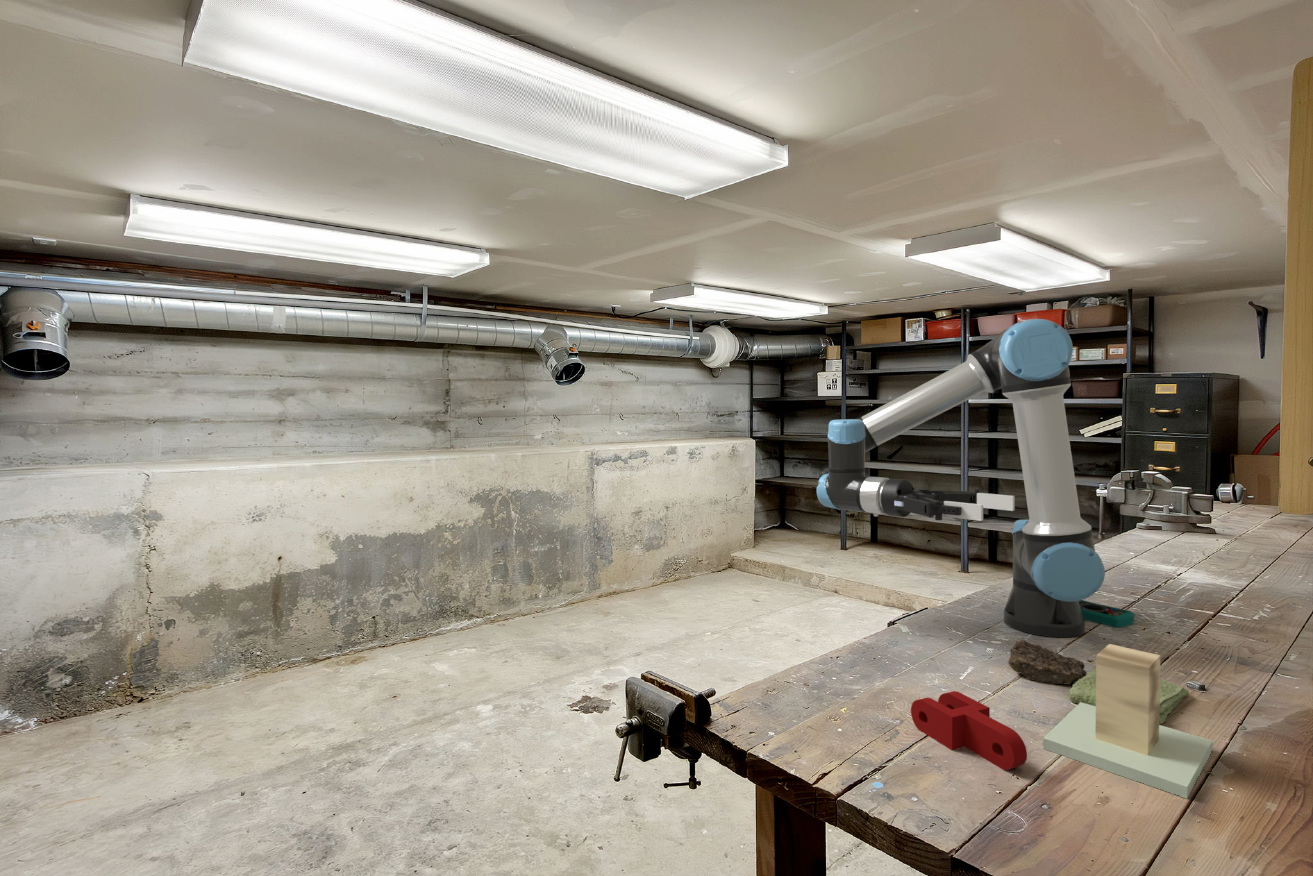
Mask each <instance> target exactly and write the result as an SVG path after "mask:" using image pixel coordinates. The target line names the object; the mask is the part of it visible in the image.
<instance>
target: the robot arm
mask: <svg viewBox="0 0 1313 876" xmlns="http://www.w3.org/2000/svg"><path fill="white" fill-rule="evenodd" d="M1073 348H1074V347H1073V341H1072V339H1071V336H1070V334H1069V333H1068V332H1067V330H1066V328H1065V329H1064V327H1062V326H1061V325H1060V324H1058V323H1057V322H1054V321H1052V320H1049V319H1045V318H1044V319H1043V318H1032V319H1025V320H1021V321H1018V322H1017V323H1015V324H1013V325H1011V326H1010V327H1008V328H1007V329H1005V330H1003V331H1002V332H1000V333H999V334H997V336H995V337H994V338H993V339H992V340H991V341H989V342H987V343H986V344H985V345H983V346H982V347H980V348H979V349H977V350H975V351H973V352H971V353H969V354H968V355H967V357H966V361H964V362H962V363H961V364H959V365H957V366H955V367H952V368H951V369H948V370H947V371H945V372H943V373H942V374H940V375H937V376H936V377H934V378H933V379H930V380H929V381H926V382H925V383H923V384H921V385H918V386H917V387H915V388H913V389H911V390H910V391H908V392H906V393H904V394H902V395H900V396H899V397H898V396H897V397H896V398H894V399H893V400H891V401H889V402H887V403H885V404H884V405H882V406H879V407H878V408H875V409H874V410H872V411H871V412H869V413H866V414H865V415H862V416H861V417H860V418H855V419H853V418H852V419H851V418H850V419H846V418H845V419H832V420H830V421H829V423H828V430H827V431H828V432H827V440H828V441H827V445H828V449H827V450H828V472H827V473H824V474H822V475H821V476H820V478H819V479H818V482H817V483H818V485H817V486H816V496H817V499H818V501H819V503H820V504H821V505H822V506H824V507H827V508H831V509H836V510H838V511H849V512H850V511H851V512H857V513H859V512H860V513H867V514H868V513H869V514H871V513H872V514H873V515H872V516H874V517H878V516H879V515H887V516H890V517H898V518H905V517H908V516H909V515H910V514H916V515H919V516H922V517H923V516H924V517H928V518H934V520H936V521H943V517H945V518H954V519H963V520H968V521H969V520H972V521H979V522H982V521H984V509H993V510H1000V511H1010V512H1013V511H1016V510H1015V508H1016V507H1015V505H1016V504H1015V502H1016V500H1015V495H1008V494H1007V495H1006V494H996V493H985V492H984V493H983V492H981V490H980V488H975V489H974V490H941V489H930V488H928V489H926V488H919V489H918V490H916V489H915V488H914V485H913V483H912V482H911V481H909V480H908V479H904V478H903V479H902V478H901V479H900V478H889V477H880V476H866V453H867V452H869V451H870V450H872V449H874V448H876V447H878V446H880V445H883V443H886V442H887V441H890V440H891V439H894V438H895V437H898V436H899V435H902V434H903V433H905V432H907V431H909V430H911V429H913V428H915V427H917V426H920V425H922V424H923V423H925V422H927V421H929V420H931V419H933V418H935V417H937V416H939V415H941V414H944V413H945V412H946V411H948V410H951V409H953V408H954V407H957V406H959V405H960V404H962V403H965V402H966V401H968V400H971V399H973V398H974V397H976V396H978V395H980V394H982V393H989V394H990V393H991V394H992V393H995V392H996V391H998V390H1000V389H1001V393H1002V395H1003V396H1004V397H1005V398H1007V399H1009V400H1010V401H1011V402H1012V408H1013V416H1014V421H1015V429H1016V434H1017V435H1016V436H1017V443H1018V449H1019V455H1020V457H1019V458H1020V464H1021V470H1022V477H1023V478H1022V479H1023V483H1024V490H1025V498H1026V499H1025V500H1026V505H1027V512H1028V517H1029V518H1028V519H1018V520H1017V519H1016V521H1014V523H1013V528H1012V531H1011V536H1012V589H1011V591H1010V593H1009V596H1008V598H1007V601H1006V604H1005V606H1004V609H1003V622H1004V623H1005V624H1006V625H1007V626H1009V627H1010V628H1013V629H1015V630H1016V631H1017V630H1018V631H1021V632H1024V633H1028V634H1032V635H1037V636H1043V637H1053V638H1072V637H1077V636H1081V635H1083V634H1085V633H1086V632H1085V631H1086V619H1084V617H1083V614H1082V611H1081V608H1080V605H1079V603H1078V601H1080V600H1086V599H1088V598H1090V597H1092V596H1093V595H1095V593H1096V592H1098V591H1099V590H1100V588H1101V587H1102V585H1103V583H1104V580H1105V575H1106V571H1105V570H1106V569H1105V566H1104V562H1103V561H1102V558H1101V557H1100V555H1099V553H1098V552H1096V548H1095V543H1094V536H1093V529H1092V525H1090V524H1089V523H1088V522H1087V521H1086V520H1084V519H1083V518H1082V517H1081V510H1080V505H1079V497H1078V490H1077V484H1076V476H1075V471H1074V462H1073V455H1072V451H1071V449H1072V448H1071V443H1070V435H1069V429H1068V428H1069V427H1068V421H1067V416H1066V415H1067V413H1066V407H1065V400H1064V394H1065V393H1066V391H1067V390H1068V389H1070V387H1071V385H1072V384H1071V383H1072V382H1071V377H1070V376H1071V374H1070V368H1069V365H1070V363H1071V361H1072V356H1073V353H1074V349H1073Z"/></svg>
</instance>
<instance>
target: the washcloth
mask: <svg viewBox="0 0 1313 876" xmlns="http://www.w3.org/2000/svg"><path fill="white" fill-rule="evenodd" d="M1067 696H1068V698H1069V701H1070V702H1073V703H1074V704H1077V705H1078V704H1079V703H1080V702H1082V703H1085V704H1089V705H1092V706H1096V667H1094V669H1092V670H1091V671H1090V672H1088V673H1087V674H1086V676H1084V677H1083V678H1081V679H1079V680H1078V681H1077V682H1076V683H1075V684H1074V683H1073V684H1072V686H1071V688H1070V689H1069V693H1068V694H1067ZM1186 696H1187V697H1188V696H1190V691H1189V690H1188V689H1187V688H1186V687H1184V686H1181V685H1180V684H1177V683H1174V682H1171V681H1168V680H1163V679H1162V678H1160V710H1159V725H1163V723H1165V722H1166V721H1167V717H1168V716H1167V715H1168V714H1169V713H1170V714H1171V713H1172V711H1173V710H1174V709H1175V708H1177V706H1179V704H1180V703H1181V702H1182V700H1183V699H1185V697H1186ZM1170 714H1169V715H1170Z"/></svg>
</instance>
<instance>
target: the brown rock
mask: <svg viewBox="0 0 1313 876" xmlns="http://www.w3.org/2000/svg"><path fill="white" fill-rule="evenodd" d="M1009 652H1010V656H1009V658H1008V666H1009V667H1010V668H1011V669H1012V670H1013V671H1014V672H1016V673H1019V674H1022V675H1023V676H1024V677H1026V679H1027V680H1032V681H1036V682H1038V683H1039V682H1040V683H1043V682H1044V683H1047V684H1052V685H1056V684H1057V685H1061V684H1063V685H1072V684H1071V683H1073V684H1075V683H1076V682H1077V681H1078V680H1079V679H1081V678H1083V677H1084V676H1086V675H1087V674H1088V673H1087V670H1085V666H1086V665H1085V663H1084V662H1083V661H1080V660H1078V659H1076V658H1074V657H1069V656H1063V655H1062V654H1060V653H1057V652H1055V651H1053V650H1050V649H1047V648H1046V647H1042V646H1041V645H1038V644H1035V643H1031V641H1029V642H1028V641H1025V639H1021V640H1019V641H1016V642H1015V644H1014V645H1012V648H1011V649H1010V650H1009Z"/></svg>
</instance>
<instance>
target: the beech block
mask: <svg viewBox="0 0 1313 876" xmlns="http://www.w3.org/2000/svg"><path fill="white" fill-rule="evenodd" d="M1095 663H1096V664H1095V668H1096V730H1095V739H1098V740H1101V741H1104V742H1107V743H1110V744H1114V745H1117V746H1120V747H1123V748H1126V749H1129V750H1132V751H1135V752H1138V753H1141V754H1145V755H1148V754H1149V753H1150V752H1151V750H1152V749H1153V747H1154V746H1155V744H1156V743H1157V742H1158V740H1159V710H1160V679H1161V655H1160V654H1157V653H1152V652H1147V651H1142V650H1138V649H1134V648H1128V647H1125V646H1121V645H1117V644H1112V643H1109V644H1107V645H1106V646H1105V647H1104V648H1102V649H1101V650H1100V651H1099V652H1098V653H1097V654H1096V662H1095Z"/></svg>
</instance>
